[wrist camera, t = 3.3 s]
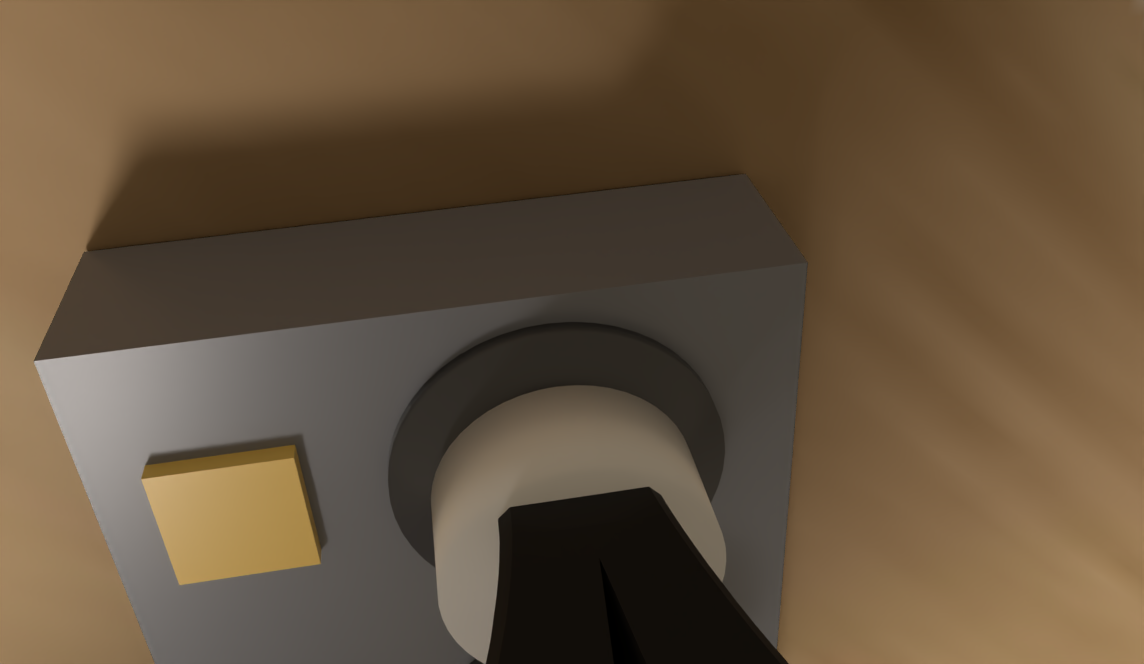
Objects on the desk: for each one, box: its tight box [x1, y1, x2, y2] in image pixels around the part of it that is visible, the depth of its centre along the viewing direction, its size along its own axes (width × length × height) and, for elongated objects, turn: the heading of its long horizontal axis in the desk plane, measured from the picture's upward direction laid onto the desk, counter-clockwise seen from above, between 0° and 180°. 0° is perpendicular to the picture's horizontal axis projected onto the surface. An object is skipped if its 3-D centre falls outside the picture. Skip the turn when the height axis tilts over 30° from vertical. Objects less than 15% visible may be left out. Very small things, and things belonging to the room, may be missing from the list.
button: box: [431, 385, 726, 664], centre depth 10 cm, size 3×3×1 cm
